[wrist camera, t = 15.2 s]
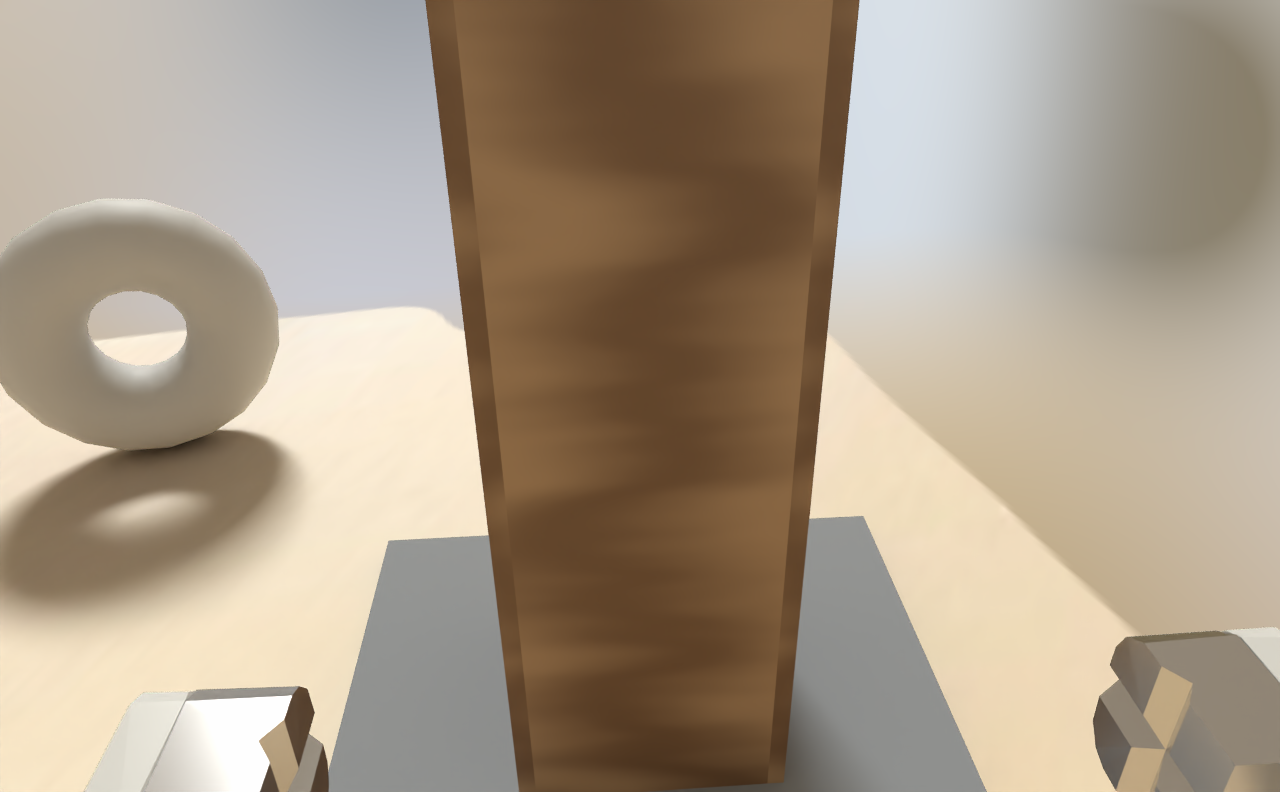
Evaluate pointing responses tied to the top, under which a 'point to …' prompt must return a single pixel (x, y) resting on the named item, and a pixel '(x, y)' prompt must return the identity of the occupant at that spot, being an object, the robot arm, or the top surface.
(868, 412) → the top surface
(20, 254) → the donut
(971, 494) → the top surface
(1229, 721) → the robot arm
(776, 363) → the block
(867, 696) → the mat
